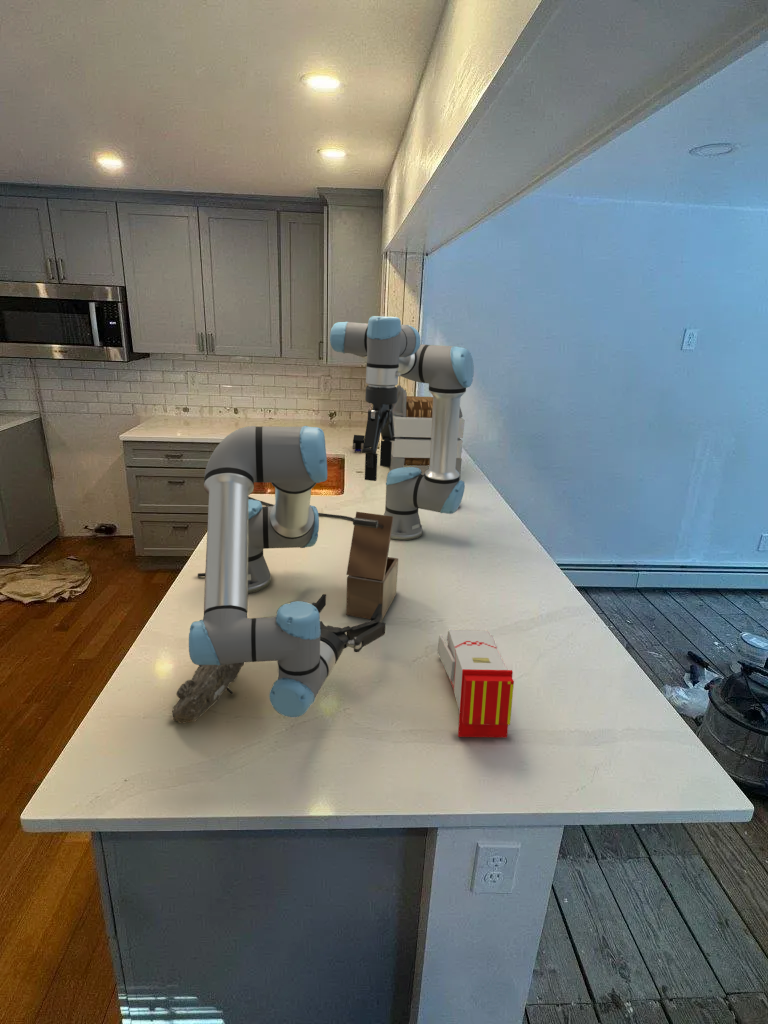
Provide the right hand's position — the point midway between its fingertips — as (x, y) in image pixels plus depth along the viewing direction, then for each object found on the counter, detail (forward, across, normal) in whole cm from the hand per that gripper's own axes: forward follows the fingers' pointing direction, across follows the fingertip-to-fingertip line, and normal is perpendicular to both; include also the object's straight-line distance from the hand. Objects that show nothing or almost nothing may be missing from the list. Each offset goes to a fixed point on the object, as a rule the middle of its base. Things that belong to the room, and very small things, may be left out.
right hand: (378, 472), depth 140 cm
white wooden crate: (+36, +131, +14) cm, 136 cm away
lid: (+18, -4, 0) cm, 18 cm away
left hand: (+27, -19, 0) cm, 33 cm away
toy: (+36, -30, -30) cm, 56 cm away
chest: (+36, -1, 0) cm, 36 cm away
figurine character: (+36, +162, +55) cm, 174 cm away
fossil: (+36, -46, +20) cm, 62 cm away
